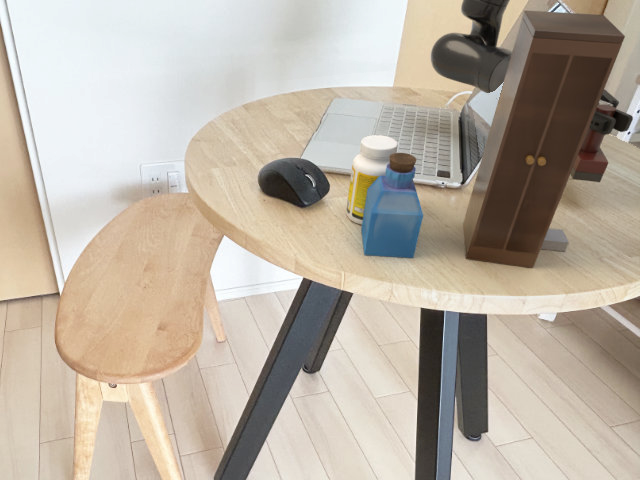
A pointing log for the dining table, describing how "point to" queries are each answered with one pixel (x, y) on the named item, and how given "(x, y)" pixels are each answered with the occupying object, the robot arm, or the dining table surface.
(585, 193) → the dining table surface
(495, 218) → the cupboard
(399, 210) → the perfume bottle
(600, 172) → the stamp
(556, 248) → the small grey rectangular block
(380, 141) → the pill bottle
